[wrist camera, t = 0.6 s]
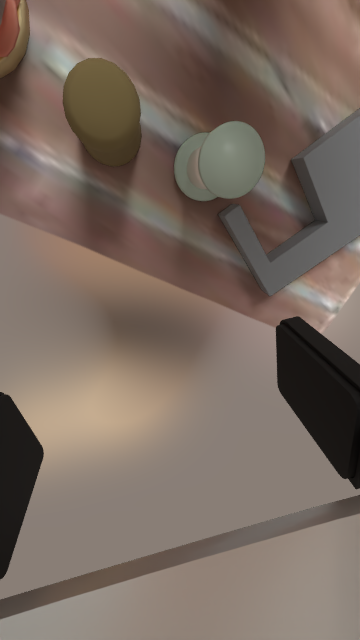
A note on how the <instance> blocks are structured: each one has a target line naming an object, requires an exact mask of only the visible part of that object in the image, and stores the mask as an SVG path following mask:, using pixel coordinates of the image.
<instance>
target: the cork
mask: <svg viewBox="0 0 360 640" xmlns="http://www.w3.org/2000/svg"><path fill="white" fill-rule="evenodd" d="M63 106H64V111H65V116H66V119H67V121H68V123H69V125H70V127H71V129H72V131H73V132H74V133H75V134H76V135H77V137H78V138H79V139H80V140H81V141H82V142H83V144H84V146H85V148H86V150H87V151H88V152H89V153H90V155H91V156H92V157H93V158H94V159H96V160H97V161H99V162H100V163H102V164H104V165H108V166H111V167H112V166H122V165H124V164H126V163H128V162H129V161H130V160H132V159H133V158H134V157H135V155H136V153H137V151H138V149H139V147H140V142H141V137H142V136H141V126H140V123H139V122H140V115H141V111H140V102H139V97H138V95H137V92H136V89H135V86H134V84H133V83H132V82H131V80H130V79H129V77H128V76H127V74H126V73H125V72H124V71H123V70H121V69H120V68H119V67H118V66H117V65H115V64H114V63H112V62H110V61H107V60H105V59H102V58H88V59H86V60H84V61H82V62H79V63H77V64H76V66H75V67H74V68H73V69H72V70H71V71H70V72H69V74H68V76H67V79H66V82H65V84H64V89H63Z"/></svg>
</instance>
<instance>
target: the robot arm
mask: <svg viewBox="0 0 360 640" xmlns="http://www.w3.org/2000/svg"><path fill="white" fill-rule="evenodd" d="M276 347H277V379H278V381H277V382H278V388H279V391H280V392H281V394H282V396H283V397H284V399H285V400H286V401H287V403H288V404H289V405H290V407H291V408H292V410H293V411H294V412H295V414H296V415H297V417H298V418H299V419H300V421H301V422H302V423H303V425H304V426H305V428H306V429H307V431H308V432H309V433H310V435H311V436H312V437H313V439H314V440H315V442H316V443H317V444H318V446H319V447H320V449H321V450H322V451H323V453H324V454H325V456H326V457H327V458H328V460H329V461H330V463H331V464H332V465H333V466H334V468H335V469H336V471H337V472H338V474H339V475H340V476H341V477H342V478H344V479H347V478H348V479H349V480H350V482H351V483H352V485H353V486H354V487H355V489H359V488H360V364H358V363H357V362H356V361H355V360H353V359H352V358H351V357H350V356H348V355H347V354H346V353H344V352H343V351H342V350H341V349H339V348H338V347H337V346H336V345H334V344H333V343H332V342H331V341H329V340H328V339H327V338H325V337H324V336H323V335H322V334H320V333H319V332H318V331H317V330H315V329H314V328H313V327H312V326H310V325H309V324H308V323H306V322H305V321H304V320H303V319H301V318H300V317H293V318H289V319H285V320H282V321H281V322H280V325H278V326H277V327H276ZM43 454H44V453H43V448H42V445H41V444H40V442H39V441H38V439H37V438H36V436H35V435H34V433H33V431H32V430H31V428H30V427H29V425H28V424H27V422H26V421H25V419H24V417H23V416H22V414H21V413H20V411H19V410H18V408H17V406H16V405H15V404H14V402H13V400H12V399H11V397H10V396H9V395H5V394H4V393H2V392H0V579H2V578H3V577H4V576H5V574H6V572H7V570H8V567H9V563H10V560H11V557H12V554H13V551H14V548H15V545H16V542H17V538H18V535H19V532H20V528H21V526H22V522H23V519H24V516H25V513H26V510H27V507H28V504H29V501H30V497H31V494H32V491H33V488H34V485H35V482H36V479H37V476H38V472H39V469H40V466H41V463H42V460H43ZM0 640H360V495H358V496H354V497H351V498H347V499H343V500H339V501H336V502H332V503H328V504H324V505H321V506H317V507H313V508H310V509H306V510H303V511H299V512H296V513H293V514H289V515H285V516H282V517H279V518H275V519H272V520H269V521H265V522H261V523H258V524H254V525H251V526H248V527H244V528H241V529H237V530H234V531H230V532H227V533H223V534H220V535H216V536H213V537H210V538H206V539H203V540H199V541H196V542H192V543H189V544H186V545H182V546H179V547H176V548H172V549H169V550H165V551H162V552H158V553H155V554H152V555H148V556H145V557H141V558H138V559H135V560H131V561H128V562H125V563H121V564H118V565H114V566H111V567H108V568H104V569H101V570H98V571H94V572H91V573H87V574H84V575H81V576H77V577H74V578H71V579H68V580H64V581H61V582H58V583H54V584H51V585H47V586H44V587H41V588H38V589H34V590H31V591H28V592H24V593H21V594H18V595H14V596H11V597H8V598H5V599H1V600H0Z"/></svg>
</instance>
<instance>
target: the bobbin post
mask: <svg viewBox="0 0 360 640" xmlns="http://www.w3.org/2000/svg"><path fill="white" fill-rule="evenodd" d="M264 164H265V150H264V145H263V142H262V140H261V138H260V136H259V134H258V133H257V131H256V130H255V129H254V128H252V127H251V126H250V125H248V124H246V123H244V122H240V121H231V122H227V123H224V124H222V125H220V126H218V127H217V128H215V129H214V130H213V131H212V132H211V133H208V132H203V133H198V134H195V135H193V136H191V137H190V138H189V139H187V140H186V141H185V142H184V143H183V144H182V145H181V147H180V148H179V150H178V152H177V154H176V157H175V161H174V176H175V180H176V182H177V185H178V186H179V188H180V189H181V191H182V192H183V193H184V194H185V195H186V196H188V197H189V198H191V199H194V200H198V201H209V200H212V199H215V198H217V197H221V198H228V199H231V198H238V197H241V196H243V195H245V194H246V193H248V192H249V191H250V190H252V189H253V187H254V186H255V185H256V184H257V182H258V181H259V179H260V177H261V175H262V172H263V169H264Z"/></svg>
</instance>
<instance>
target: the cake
mask: <svg viewBox="0 0 360 640" xmlns="http://www.w3.org/2000/svg"><path fill="white" fill-rule="evenodd" d="M29 35H30V27H29V9H28V5H27V2H26V0H0V79H1V78H2V77H4V76H6V75H7V74H9V73H10V72H12V71H13V70H15V69H16V67H17V66H18V64H19V63H20V61H21V60H22V58H23V56H24V55H25V52H26V48H27V44H28V39H29Z"/></svg>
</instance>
